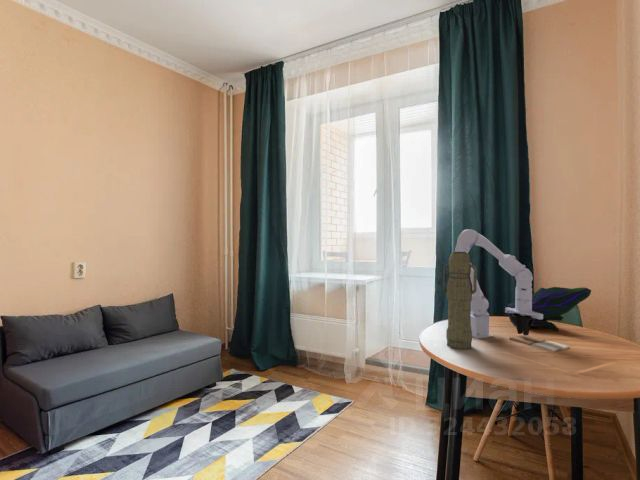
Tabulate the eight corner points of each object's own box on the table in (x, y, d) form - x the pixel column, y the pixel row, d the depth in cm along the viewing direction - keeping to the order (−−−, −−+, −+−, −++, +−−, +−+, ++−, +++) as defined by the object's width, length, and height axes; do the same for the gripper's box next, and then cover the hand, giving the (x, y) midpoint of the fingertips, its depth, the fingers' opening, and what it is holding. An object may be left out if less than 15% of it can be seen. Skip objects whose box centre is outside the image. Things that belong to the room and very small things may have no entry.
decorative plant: (512, 343, 175) (573, 326, 175) (537, 335, 151) (608, 315, 151) (493, 301, 183) (552, 285, 183) (514, 287, 159) (581, 269, 160)
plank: (528, 346, 138) (529, 343, 138) (509, 340, 145) (509, 337, 145) (545, 343, 143) (545, 340, 143) (525, 337, 150) (526, 334, 150)
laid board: (552, 353, 130) (552, 349, 130) (531, 347, 137) (531, 343, 137) (569, 349, 135) (569, 346, 135) (547, 343, 142) (547, 340, 142)
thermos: (476, 351, 132) (477, 252, 132) (441, 347, 136) (442, 252, 136) (476, 344, 140) (477, 251, 140) (443, 341, 145) (444, 251, 144)
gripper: (548, 301, 141) (547, 337, 141) (513, 296, 154) (512, 329, 154) (536, 303, 137) (536, 339, 138) (501, 297, 150) (501, 330, 151)
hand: (523, 334), depth 145 cm, fingers closed
